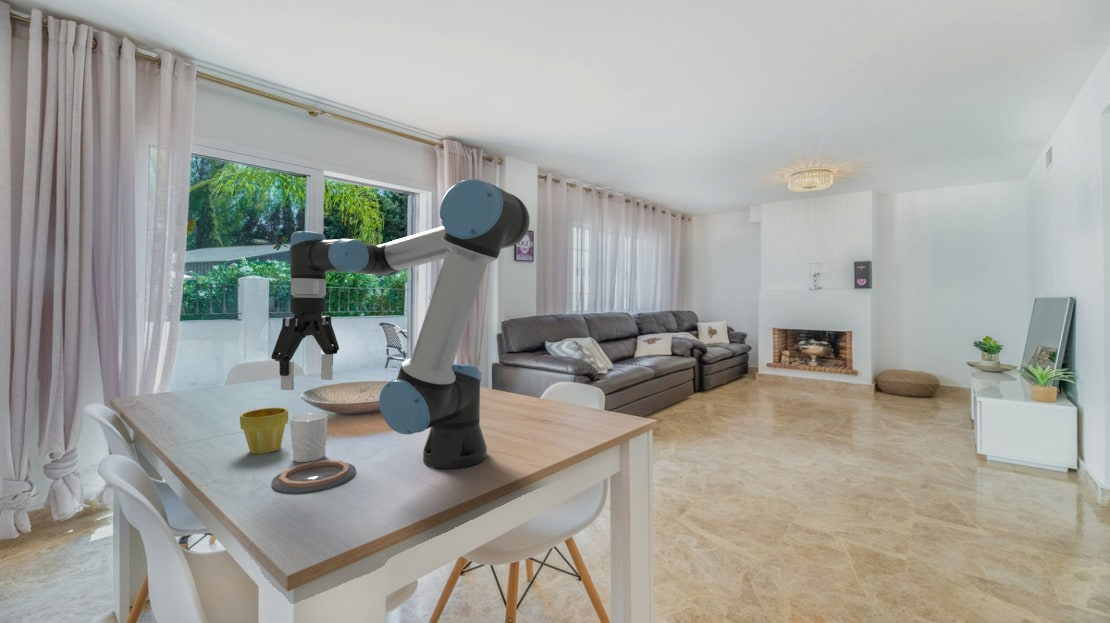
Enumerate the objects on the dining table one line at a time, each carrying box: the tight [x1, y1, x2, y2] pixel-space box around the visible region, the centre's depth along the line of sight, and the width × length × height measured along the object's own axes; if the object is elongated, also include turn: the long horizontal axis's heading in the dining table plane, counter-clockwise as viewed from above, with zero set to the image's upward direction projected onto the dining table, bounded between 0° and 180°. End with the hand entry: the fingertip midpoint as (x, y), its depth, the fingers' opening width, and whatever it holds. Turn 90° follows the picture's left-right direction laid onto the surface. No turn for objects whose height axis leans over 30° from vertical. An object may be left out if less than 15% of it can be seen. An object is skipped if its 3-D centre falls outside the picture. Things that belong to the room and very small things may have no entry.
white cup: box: [290, 412, 328, 463], centre depth 110 cm, size 8×8×10 cm
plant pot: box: [239, 407, 289, 455], centre depth 115 cm, size 10×10×10 cm
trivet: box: [271, 459, 357, 494], centre depth 98 cm, size 16×16×1 cm
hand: (308, 384), depth 110 cm, fingers open, 13 cm apart
